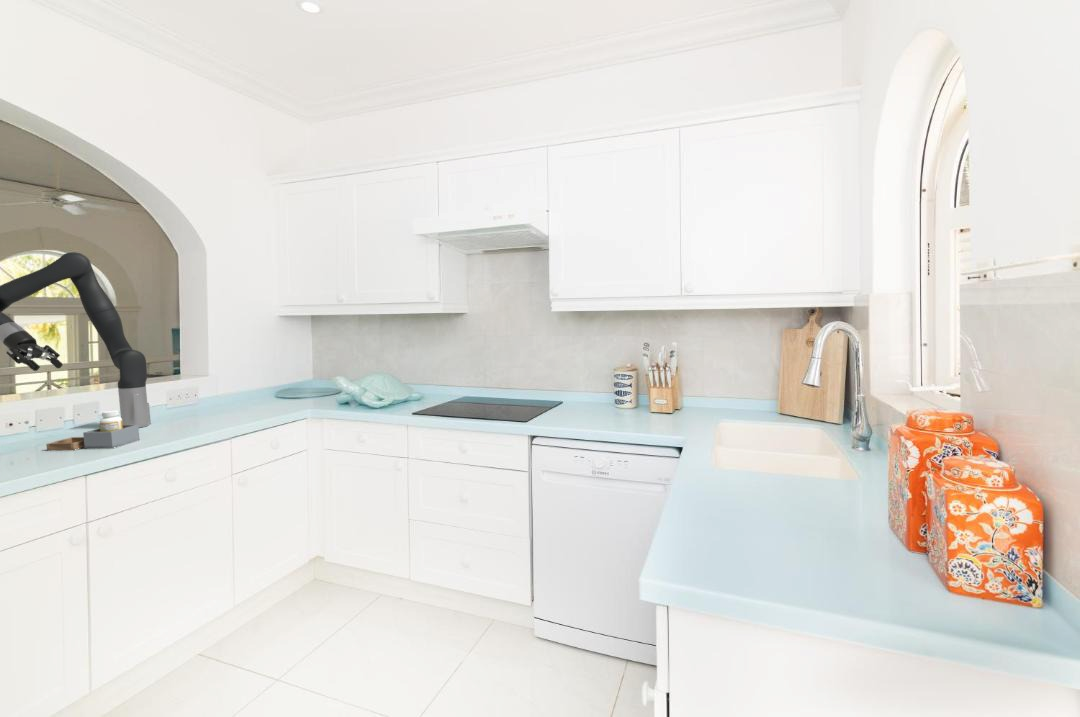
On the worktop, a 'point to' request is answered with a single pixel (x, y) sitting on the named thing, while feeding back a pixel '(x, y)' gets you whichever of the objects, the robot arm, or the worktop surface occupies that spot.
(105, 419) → the supplement bottle
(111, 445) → the bin
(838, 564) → the worktop surface
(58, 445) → the wooden tray
